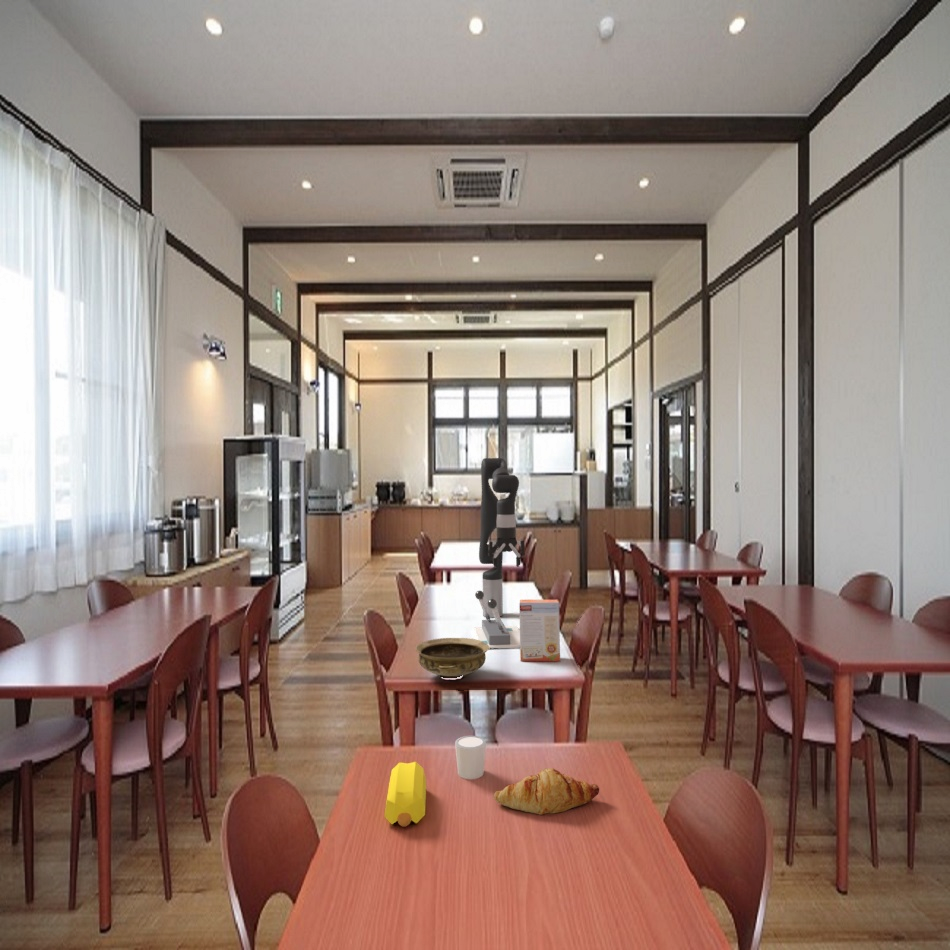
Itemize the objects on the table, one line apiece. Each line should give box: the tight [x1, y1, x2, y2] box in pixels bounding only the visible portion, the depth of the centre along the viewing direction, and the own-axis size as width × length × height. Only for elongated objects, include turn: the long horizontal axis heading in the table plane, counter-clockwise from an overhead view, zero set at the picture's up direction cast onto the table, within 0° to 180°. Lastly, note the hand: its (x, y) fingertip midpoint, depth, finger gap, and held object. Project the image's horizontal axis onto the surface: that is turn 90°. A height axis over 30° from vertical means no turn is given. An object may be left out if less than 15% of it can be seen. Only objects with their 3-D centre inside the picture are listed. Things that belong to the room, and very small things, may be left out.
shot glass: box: [454, 735, 487, 780], centre depth 139 cm, size 7×7×7 cm
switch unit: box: [474, 619, 520, 650], centre depth 251 cm, size 30×18×4 cm, turn 6°
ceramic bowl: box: [414, 637, 490, 678], centre depth 204 cm, size 30×24×10 cm
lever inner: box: [474, 590, 492, 622], centre depth 260 cm, size 4×4×13 cm
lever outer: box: [488, 599, 505, 633], centre depth 242 cm, size 4×4×13 cm
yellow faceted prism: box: [383, 761, 427, 827], centre depth 125 cm, size 18×7×8 cm
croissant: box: [493, 767, 600, 815], centre depth 126 cm, size 21×10×8 cm, turn 94°
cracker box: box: [519, 599, 561, 662], centre depth 222 cm, size 14×6×21 cm, turn 84°
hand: (506, 567), depth 246 cm, fingers open, 8 cm apart
